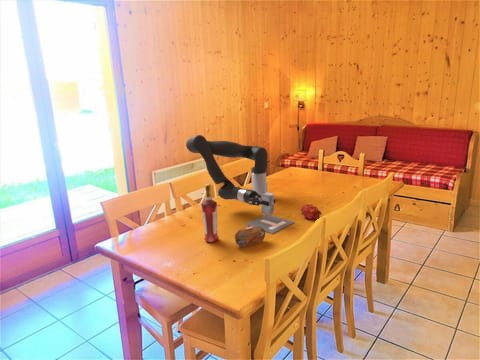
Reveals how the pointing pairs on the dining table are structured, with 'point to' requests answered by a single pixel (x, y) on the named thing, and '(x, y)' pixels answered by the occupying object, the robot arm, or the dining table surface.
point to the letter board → (270, 223)
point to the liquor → (209, 216)
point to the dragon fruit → (310, 211)
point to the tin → (250, 236)
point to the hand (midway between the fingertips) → (271, 202)
